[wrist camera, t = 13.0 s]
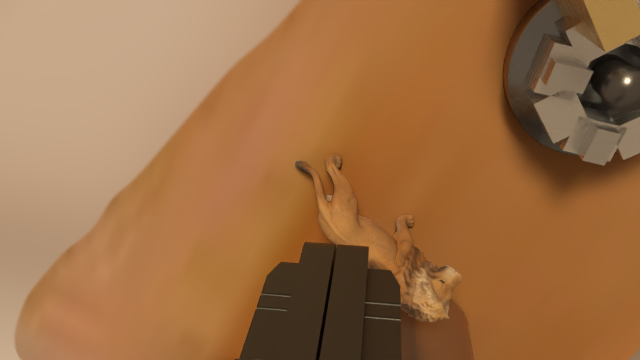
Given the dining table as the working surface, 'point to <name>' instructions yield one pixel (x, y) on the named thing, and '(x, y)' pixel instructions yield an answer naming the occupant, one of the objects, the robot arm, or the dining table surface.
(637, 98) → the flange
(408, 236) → the lion figurine
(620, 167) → the dining table surface
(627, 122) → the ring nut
